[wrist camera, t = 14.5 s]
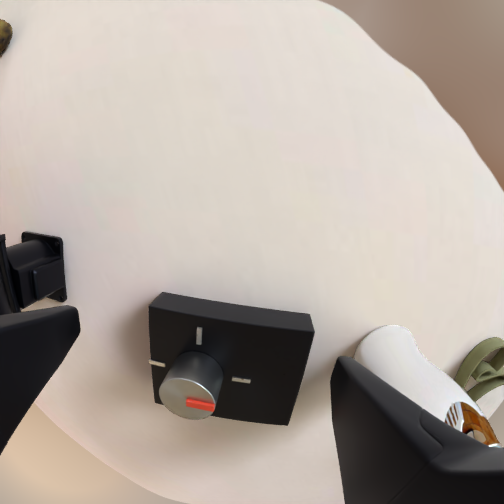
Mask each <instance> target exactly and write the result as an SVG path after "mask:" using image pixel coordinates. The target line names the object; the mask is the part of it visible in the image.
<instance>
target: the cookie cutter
mask: <svg viewBox="0 0 504 504" xmlns="http://www.w3.org/2000/svg"><path fill="white" fill-rule="evenodd" d="M498 348H501V349H500V350H499V352H498V353H497V354H496V356H495V357H494V358H493V359H492V360H491V361H490V362H489V363H487V362H486V361H482V360H483V359H484V358H485V357H486V356H487V355H488V354H489V353H491V352H492V351H494V350H496V349H498ZM503 366H504V341H503V340H502V339H501V338H497V337H493V338H489V339H486V340H484V341H483V342H481V343H480V344H478V345H477V346H476V347H475V348H474V349H473V350H472V351H471V352H470V353H469V354H468V356H467V357H466V359H465V360H464V362H463V363H462V365H461V367H460V369H459V371H458V373H457V375H456V378H455V381H456V382H457V383H458V384H459V385H461V386H462V387H463V388H465V386H466V384H467V382H468V380H469V378H470V376H472V377H473V378H474V379H475V380H476V381H477V382H480V383H479V384H477V385H476V386H475V387H473V388H472V389H471V390H469V391H468V394H469V395H470V396H471V397H472V398H473V400H474V401H475V402H476V401H477V400H478V399H479V398H481V397H482V396H483V395H485V394H486V393H488V392H489V391H491V390H493V389H494V388H496V387H499V386H501V385H504V367H503ZM481 381H482V382H481Z"/></svg>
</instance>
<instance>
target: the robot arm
mask: <svg viewBox="0 0 504 504" xmlns="http://www.w3.org/2000/svg"><path fill="white" fill-rule="evenodd" d="M21 237H22V243H20V244H17V245H13V246H10V247H7V248H6V244H5V240H6V239H5V234H2V235H0V455H1V453H2V451H3V449H4V448H5V446H6V445H7V443H8V441H9V439H10V437H11V436H12V434H13V433H14V431H15V429H16V428H17V426H18V425H19V423H20V422H21V420H22V418H23V417H24V415H25V414H26V412H27V411H28V409H29V408H30V406H31V405H32V403H33V402H34V401H35V399H36V398H37V396H38V395H39V393H40V392H41V391H42V389H43V388H44V386H45V385H46V384H47V382H48V381H49V379H50V378H51V377H52V375H53V374H54V373H55V371H56V370H57V369H58V367H59V366H60V364H61V363H62V361H63V360H64V358H65V357H66V355H67V353H68V352H69V350H70V348H71V347H72V345H73V344H74V342H75V340H76V339H77V337H78V336H79V334H80V322H79V315H78V310H77V309H76V308H75V307H72V306H69V305H65V306H59V307H53V308H46V309H40V310H33V311H26V312H21V309H24V308H26V307H28V306H30V305H31V304H33V303H35V302H37V301H39V300H41V299H43V298H45V297H48V298H51V299H53V300H56V301H59V302H64V301H66V299H67V295H66V286H65V275H64V260H63V241H62V239H61V238H60V237H55V236H49V235H44V234H38V233H32V232H23V233H22V236H21ZM62 297H63V298H62ZM330 388H331V406H332V422H333V429H334V435H335V441H336V447H337V453H338V459H339V465H340V472H341V479H342V485H343V493H344V500H345V504H504V448H497V447H491V446H488V445H486V444H483V443H481V442H480V441H478V440H476V439H474V438H472V437H470V436H468V435H466V434H464V433H463V432H461V431H459V430H457V429H455V428H453V427H452V426H450V425H448V424H446V423H445V422H443V421H442V420H440V419H438V418H437V417H435V416H434V415H432V414H431V413H429V412H428V411H426V410H425V409H422V407H421V406H419V405H418V404H416V403H415V402H413V401H412V400H411V399H409V398H408V397H406V396H405V395H403V394H402V393H401V392H399V391H398V390H396V389H395V388H393V387H392V386H391V385H389V384H388V383H386V382H385V381H384V380H382V379H381V378H379V377H378V376H377V375H375V374H374V373H372V372H371V371H370V370H368V369H367V368H366V367H364V366H363V365H361V364H360V363H359V362H357V361H356V360H354V359H353V358H352V357H346V356H340V357H338V358H337V360H336V363H335V366H334V369H333V372H332V375H331V380H330Z"/></svg>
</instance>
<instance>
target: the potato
mask: <svg viewBox="0 0 504 504" xmlns="http://www.w3.org/2000/svg"><path fill="white" fill-rule="evenodd" d="M11 38H12V27H11V25H10V24H9V23H7V22H5V20H1V19H0V53H1V52H2V51H3V50H4V49H5V48H6V47H7V45H8V44H9V43H10V40H11Z"/></svg>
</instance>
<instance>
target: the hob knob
mask: <svg viewBox="0 0 504 504" xmlns="http://www.w3.org/2000/svg"><path fill="white" fill-rule="evenodd" d="M222 381H223V371H222V369H221V367H220V365H219V364H218V363H217V361H215V360H214V359H213V358H212V357H210V356H208V355H206V354H204V353H200V352H193V351H191V352H185V353H183V354H181V355H179V356H178V357H177V358H176V359H175V361H174V363H173V364H172V366H171V368H170V370H169V372H168V373H167V375H166V377H165V379H164V381H163V383H162V384H161V386H160V389H159V396H160V399H161V401H162V403H163V404H164V405H165V407H166V408H167V409H168V410H170V411H171V412H172V413H174V414H176V415H178V416H180V417H183V418H186V419H192V420H199V419H204V418H206V417H208V416H210V415H211V414H212V413H213V412H214V410H215V407H216V403H217V399H218V396H219V392H220V388H221V384H222Z"/></svg>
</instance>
